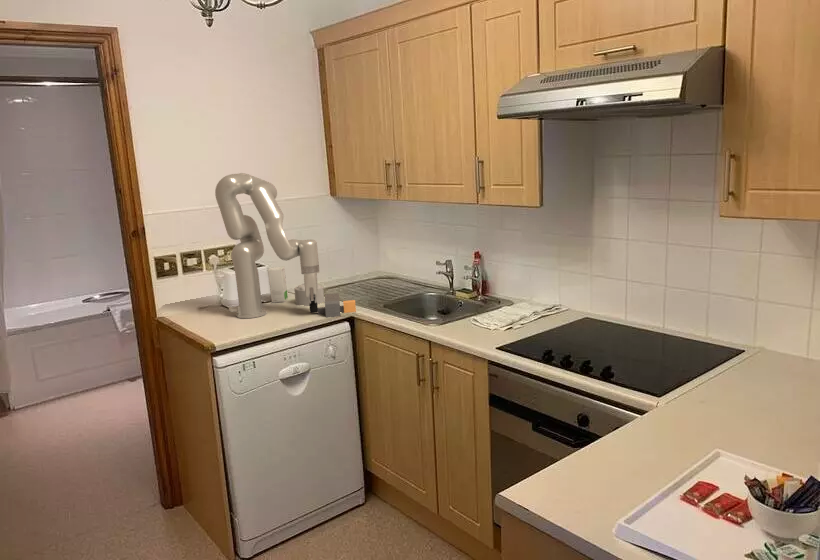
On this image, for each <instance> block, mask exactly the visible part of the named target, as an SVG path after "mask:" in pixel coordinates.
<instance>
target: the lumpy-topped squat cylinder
mask: <svg viewBox="0 0 820 560" xmlns="http://www.w3.org/2000/svg"><path fill="white" fill-rule="evenodd" d="M294 300H295V305H297V306H300V305H304V306H303V307H310V305H309V303H310V301H309V296H308V297H307V298H306V297H305V285H304V283H302V284H299V285H297V286H295V287H294ZM316 301H317V306H318V304H319V305H321V304H323V303H322V302H324V303H325V294H324V286H323V285H320V284H318V293H317V297H316ZM320 303H321V304H320Z"/></svg>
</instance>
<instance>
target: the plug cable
mask: <svg viewBox="0 0 820 560" xmlns="http://www.w3.org/2000/svg"><path fill="white" fill-rule="evenodd" d="M342 302H343V305H340V312H342V313H344V314H345V313H348V314H349V313H357V307H356V300H355V299H353V300H343V301H342ZM318 314H319V315H326V311H325V306H323V307H318V312H317V315H318Z"/></svg>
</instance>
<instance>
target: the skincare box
mask: <svg viewBox="0 0 820 560" xmlns="http://www.w3.org/2000/svg"><path fill="white" fill-rule="evenodd" d="M267 273H268V282H269V291H270V298H271V303H275V304H276V303H284V302H286V301H287V300H288V297H289V296H288V287H287V281H286V270H285V266H275V267H274V266H273V267H269V268H268V269H267Z"/></svg>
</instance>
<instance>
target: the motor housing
mask: <svg viewBox="0 0 820 560" xmlns="http://www.w3.org/2000/svg"><path fill="white" fill-rule="evenodd" d="M340 301H341V300H340V293H326V294H324V307H325V311H326V314H325V317H326V318H332V317H333V318H334V317H336V318H337V317H341V315H342V314H341V313H340V306H341V304H340V303H341V302H340Z"/></svg>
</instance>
